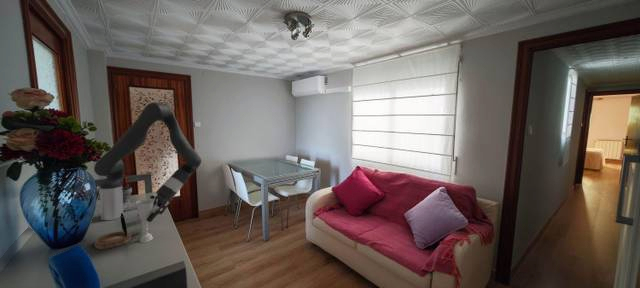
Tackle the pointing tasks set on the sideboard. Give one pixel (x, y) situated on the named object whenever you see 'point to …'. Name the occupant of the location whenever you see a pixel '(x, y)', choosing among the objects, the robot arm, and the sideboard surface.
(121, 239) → the tan segmented-rim dish
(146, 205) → the chalice
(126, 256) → the sideboard surface
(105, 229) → the sideboard surface
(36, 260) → the sideboard surface
